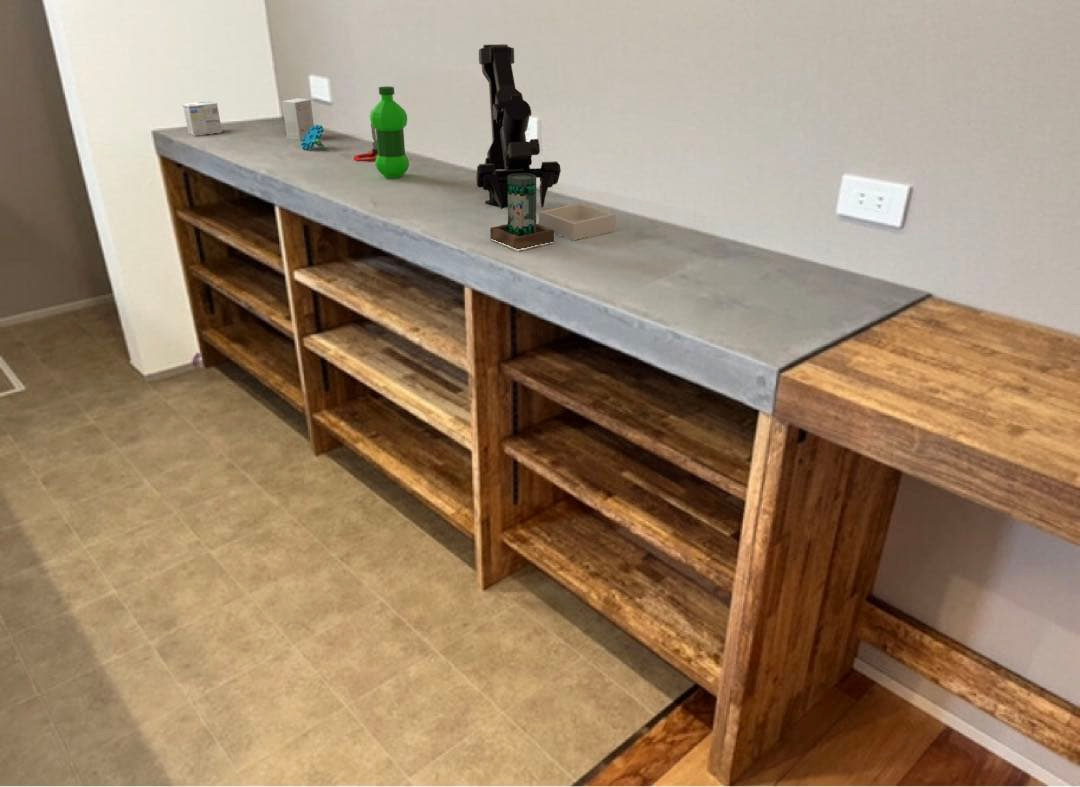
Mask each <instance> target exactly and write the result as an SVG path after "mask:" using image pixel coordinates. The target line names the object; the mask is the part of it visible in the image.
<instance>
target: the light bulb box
mask: <svg viewBox="0 0 1080 787" xmlns="http://www.w3.org/2000/svg"><path fill="white" fill-rule="evenodd" d="M182 107H183V113H184V117H185V122H186V127H187V133H188V135H190V134H191V135H190V136H192V135H193V136H192V137H197V136H196V135H200V136H207V135H206V134H209V135H215V134H214V133H217V134H222V133H223V128H222V125H221V120H220V119H221V118H220V113H219V112H220V111H219V107H218V103H217V102H215V101H212V100H207V101H198V102H196V101H195V102H188V103H182ZM221 132H222V133H221Z"/></svg>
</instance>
